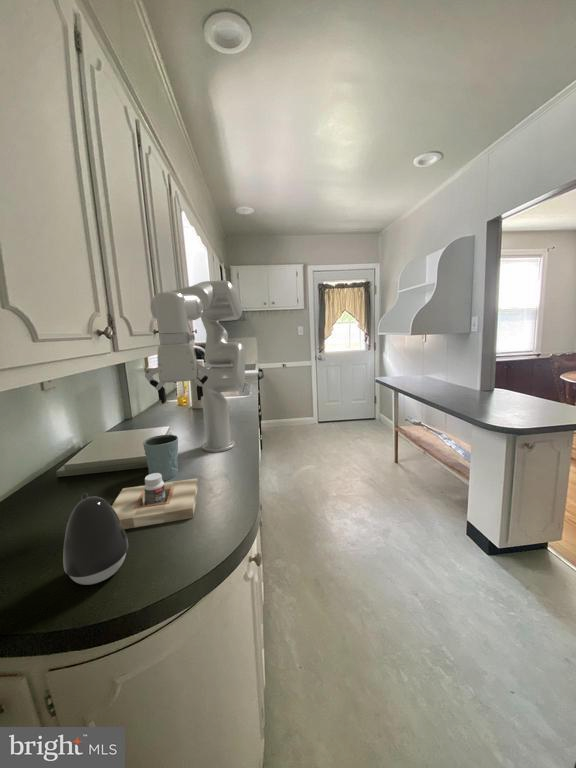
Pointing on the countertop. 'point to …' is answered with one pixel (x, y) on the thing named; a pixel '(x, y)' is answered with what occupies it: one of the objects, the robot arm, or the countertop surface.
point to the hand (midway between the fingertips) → (182, 400)
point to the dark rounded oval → (93, 541)
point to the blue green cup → (162, 455)
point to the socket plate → (139, 514)
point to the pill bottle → (154, 489)
